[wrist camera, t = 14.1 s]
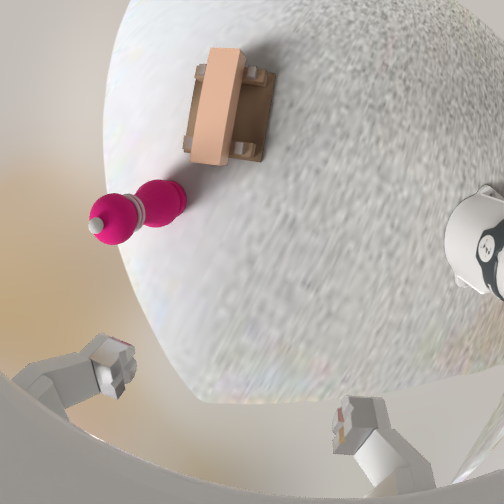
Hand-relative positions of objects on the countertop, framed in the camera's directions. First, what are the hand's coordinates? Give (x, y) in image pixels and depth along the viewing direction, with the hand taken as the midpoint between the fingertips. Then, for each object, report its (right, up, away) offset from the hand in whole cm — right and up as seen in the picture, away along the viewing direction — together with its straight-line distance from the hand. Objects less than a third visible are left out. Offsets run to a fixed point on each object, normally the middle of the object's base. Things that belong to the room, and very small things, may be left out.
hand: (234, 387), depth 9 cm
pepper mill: (-13, +14, +35) cm, 40 cm away
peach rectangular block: (-3, +25, +26) cm, 36 cm away
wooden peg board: (-3, +26, +29) cm, 39 cm away
